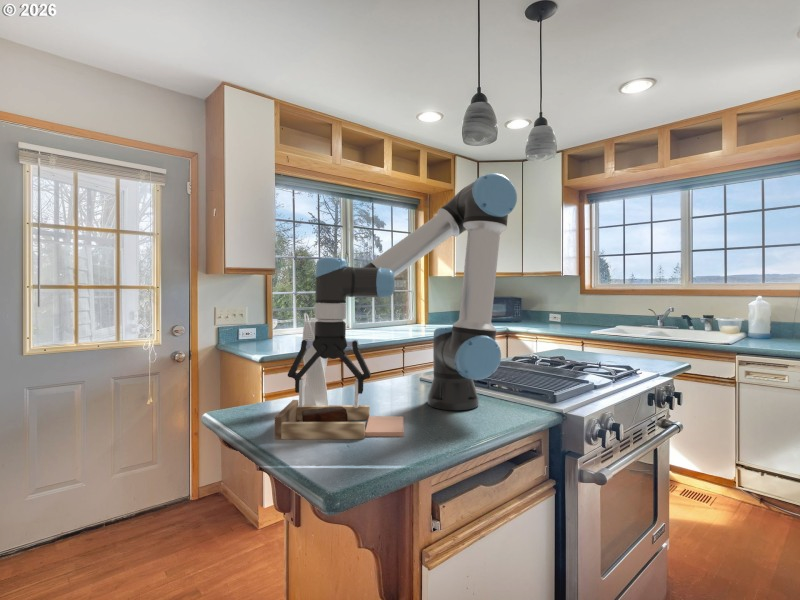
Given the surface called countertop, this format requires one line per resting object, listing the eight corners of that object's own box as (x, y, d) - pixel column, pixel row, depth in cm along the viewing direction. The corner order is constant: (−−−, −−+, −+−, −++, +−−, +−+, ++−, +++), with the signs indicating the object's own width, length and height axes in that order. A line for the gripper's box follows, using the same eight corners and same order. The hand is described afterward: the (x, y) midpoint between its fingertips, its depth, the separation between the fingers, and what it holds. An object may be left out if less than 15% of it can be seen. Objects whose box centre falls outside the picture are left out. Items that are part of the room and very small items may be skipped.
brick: (303, 434, 101) (301, 415, 100) (302, 428, 104) (301, 409, 104) (348, 428, 103) (347, 409, 103) (346, 422, 107) (345, 404, 106)
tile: (403, 420, 113) (403, 416, 113) (403, 436, 100) (403, 432, 100) (369, 420, 113) (369, 416, 113) (364, 436, 100) (364, 432, 100)
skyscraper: (296, 410, 122) (295, 312, 122) (310, 404, 129) (310, 311, 129) (319, 413, 119) (319, 313, 119) (333, 407, 126) (333, 312, 126)
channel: (369, 418, 114) (369, 399, 114) (364, 438, 98) (364, 417, 98) (292, 418, 114) (292, 399, 114) (274, 439, 98) (274, 417, 98)
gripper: (381, 320, 110) (380, 403, 110) (284, 319, 110) (283, 401, 110) (380, 322, 102) (378, 411, 102) (275, 320, 102) (274, 409, 102)
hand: (329, 406), depth 106 cm, fingers open, 13 cm apart
